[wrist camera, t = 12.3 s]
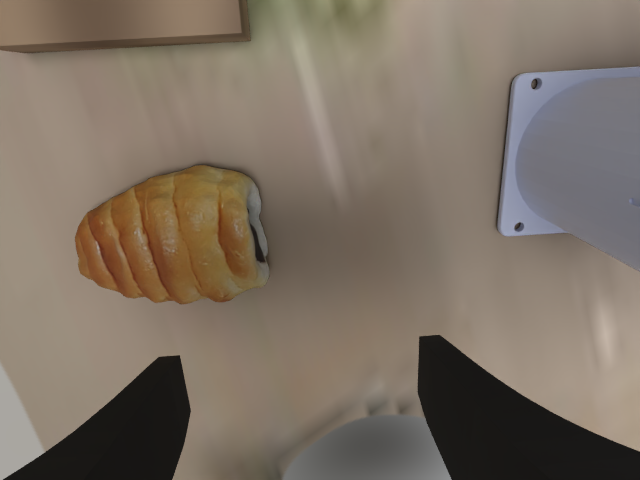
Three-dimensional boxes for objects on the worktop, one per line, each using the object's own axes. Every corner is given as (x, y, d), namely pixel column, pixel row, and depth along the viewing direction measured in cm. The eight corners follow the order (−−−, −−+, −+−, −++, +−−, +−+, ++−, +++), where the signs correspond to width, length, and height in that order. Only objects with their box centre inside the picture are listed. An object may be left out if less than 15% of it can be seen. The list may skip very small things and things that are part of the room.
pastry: (112, 301, 23) (77, 340, 20) (68, 183, 21) (20, 203, 17) (278, 275, 23) (274, 309, 19) (253, 153, 21) (243, 166, 17)
